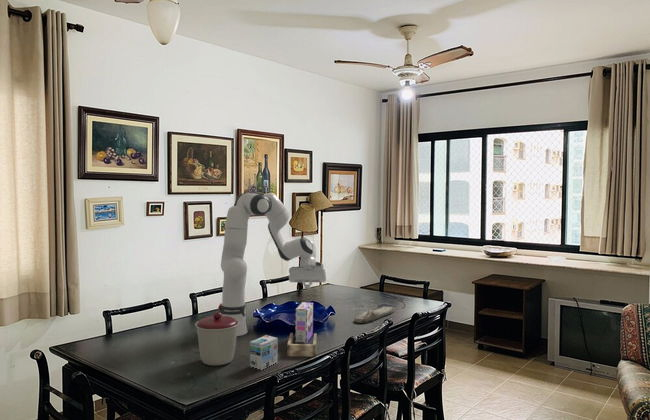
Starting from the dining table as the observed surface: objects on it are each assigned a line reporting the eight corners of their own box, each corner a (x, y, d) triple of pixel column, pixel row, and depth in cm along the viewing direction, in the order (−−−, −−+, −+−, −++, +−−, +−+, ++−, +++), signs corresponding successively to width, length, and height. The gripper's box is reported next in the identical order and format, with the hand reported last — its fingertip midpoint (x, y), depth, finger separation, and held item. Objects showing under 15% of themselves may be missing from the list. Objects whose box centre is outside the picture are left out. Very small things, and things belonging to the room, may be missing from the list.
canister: (198, 372, 189) (198, 320, 187) (192, 357, 205) (192, 308, 204) (243, 366, 196) (243, 315, 195) (234, 351, 212) (234, 305, 211)
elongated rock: (398, 315, 281) (384, 312, 288) (398, 306, 282) (384, 304, 288) (364, 324, 254) (349, 322, 261) (364, 315, 254) (349, 312, 261)
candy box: (306, 343, 224) (307, 309, 223) (294, 342, 225) (294, 308, 224) (313, 334, 237) (313, 302, 237) (301, 334, 239) (302, 301, 238)
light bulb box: (261, 371, 191) (262, 344, 191) (249, 367, 195) (249, 341, 194) (278, 362, 200) (278, 337, 200) (265, 359, 204) (265, 334, 203)
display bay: (287, 356, 208) (287, 344, 207) (290, 343, 224) (290, 332, 224) (315, 356, 208) (315, 345, 207) (316, 343, 224) (316, 333, 224)
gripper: (288, 263, 262) (287, 285, 252) (325, 263, 261) (325, 285, 252) (289, 270, 266) (288, 291, 257) (326, 270, 266) (325, 291, 257)
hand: (307, 288), depth 255 cm, fingers closed
